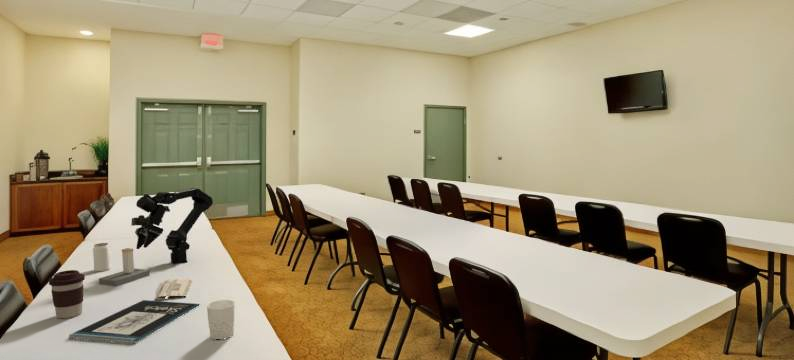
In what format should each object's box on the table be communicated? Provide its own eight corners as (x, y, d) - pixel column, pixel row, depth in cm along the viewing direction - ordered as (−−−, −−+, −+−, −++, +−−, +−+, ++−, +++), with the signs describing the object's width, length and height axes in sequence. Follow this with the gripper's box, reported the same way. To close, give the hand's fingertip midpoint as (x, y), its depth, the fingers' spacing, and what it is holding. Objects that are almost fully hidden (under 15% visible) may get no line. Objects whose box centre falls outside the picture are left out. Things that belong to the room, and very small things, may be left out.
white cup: (225, 328, 144) (224, 298, 143) (240, 334, 139) (239, 303, 139) (203, 337, 137) (201, 305, 137) (218, 343, 133) (216, 311, 132)
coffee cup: (63, 310, 159) (60, 268, 158) (93, 309, 160) (90, 268, 159) (44, 321, 150) (41, 277, 148) (75, 320, 150) (72, 276, 149)
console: (132, 273, 203) (132, 267, 203) (149, 275, 200) (149, 270, 200) (99, 284, 188) (98, 278, 188) (116, 286, 185) (116, 280, 185)
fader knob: (128, 270, 198) (127, 248, 197) (134, 271, 196) (133, 248, 196) (122, 272, 195) (121, 249, 194) (128, 273, 194) (127, 250, 193)
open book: (160, 285, 189) (160, 279, 189) (191, 284, 193) (192, 279, 193) (149, 303, 167) (149, 296, 167) (185, 302, 171) (185, 296, 171)
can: (102, 271, 205) (101, 246, 204) (90, 271, 207) (89, 245, 206) (114, 268, 212) (112, 243, 211) (102, 267, 213) (101, 242, 212)
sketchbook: (199, 307, 164) (199, 301, 164) (133, 348, 132) (133, 340, 132) (143, 303, 168) (143, 297, 167) (66, 341, 136) (65, 334, 136)
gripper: (131, 212, 210) (115, 243, 203) (145, 207, 197) (129, 240, 191) (154, 221, 217) (140, 251, 210) (169, 216, 204) (155, 249, 197)
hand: (140, 248), depth 202 cm, fingers open, 9 cm apart
